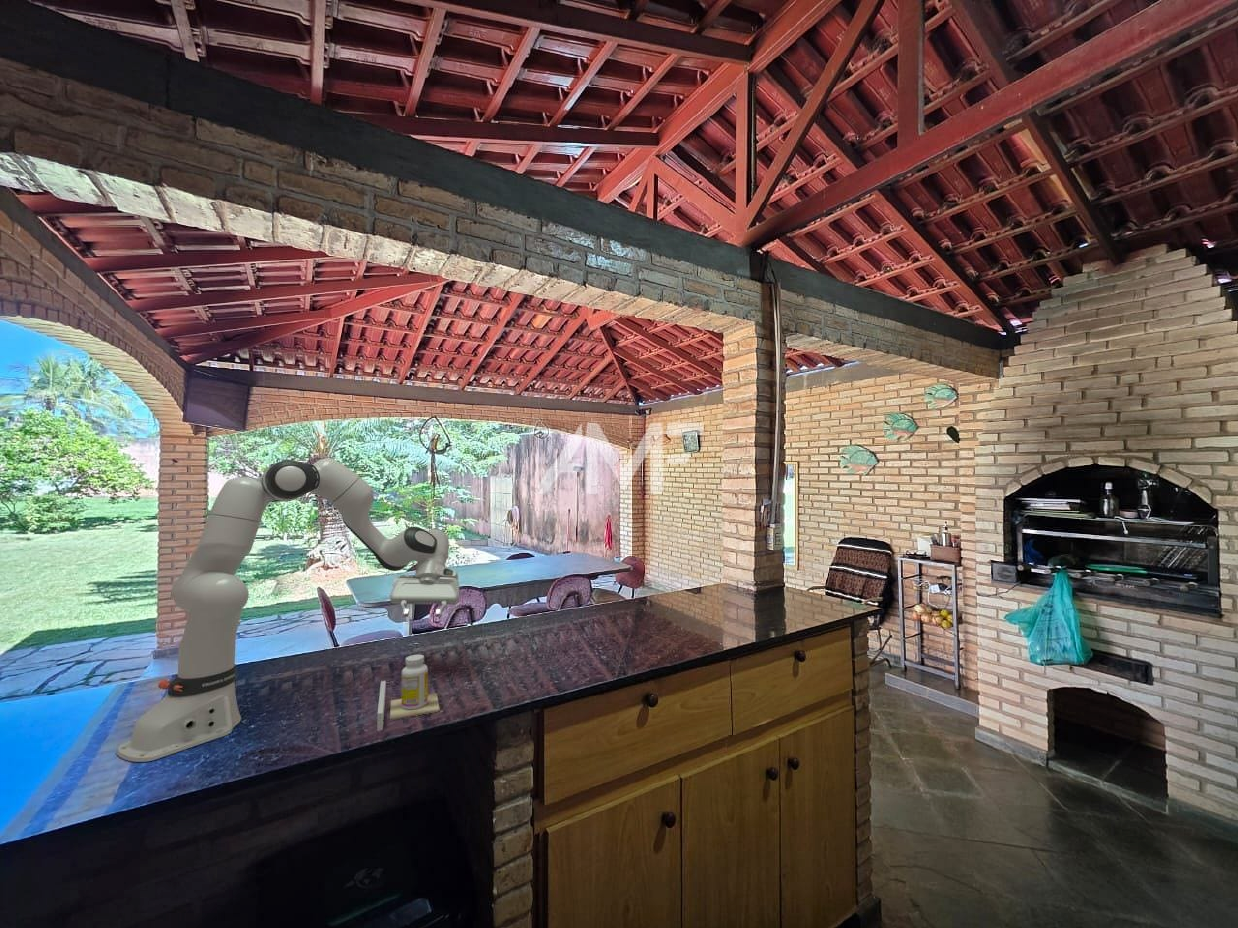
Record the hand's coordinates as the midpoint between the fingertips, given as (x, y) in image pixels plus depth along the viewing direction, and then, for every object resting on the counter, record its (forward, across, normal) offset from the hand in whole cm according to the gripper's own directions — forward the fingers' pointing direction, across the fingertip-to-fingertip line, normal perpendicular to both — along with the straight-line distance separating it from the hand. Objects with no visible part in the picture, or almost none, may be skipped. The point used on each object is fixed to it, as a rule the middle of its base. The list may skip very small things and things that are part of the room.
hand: (421, 615), depth 147 cm
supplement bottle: (+25, +2, +3) cm, 25 cm away
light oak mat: (+25, +2, +4) cm, 25 cm away
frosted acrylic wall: (+26, -6, +3) cm, 27 cm away
